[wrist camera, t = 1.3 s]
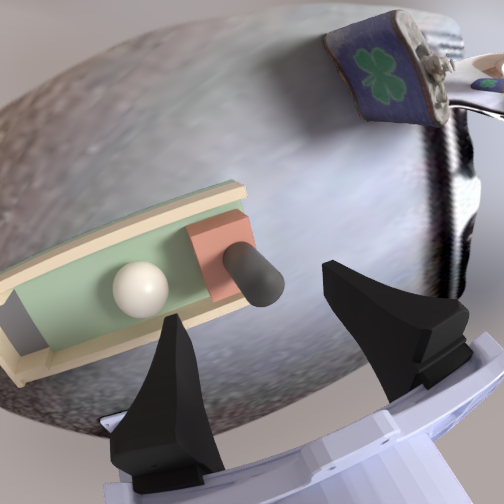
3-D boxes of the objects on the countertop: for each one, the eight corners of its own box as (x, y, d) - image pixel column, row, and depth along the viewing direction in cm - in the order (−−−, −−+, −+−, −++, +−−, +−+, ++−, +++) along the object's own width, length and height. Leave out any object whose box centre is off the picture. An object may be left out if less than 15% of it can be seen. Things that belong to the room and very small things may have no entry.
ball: (173, 290, 23) (180, 317, 20) (127, 307, 22) (126, 337, 19) (155, 244, 21) (158, 266, 18) (105, 263, 21) (100, 288, 17)
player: (252, 268, 25) (292, 314, 18) (205, 286, 24) (232, 340, 18) (237, 208, 22) (277, 238, 16) (185, 226, 21) (205, 265, 15)
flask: (316, 37, 20) (410, 5, 11) (339, 28, 21) (431, 0, 11) (363, 126, 25) (460, 136, 16) (382, 113, 25) (476, 120, 16)
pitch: (257, 279, 27) (273, 298, 24) (26, 363, 21) (18, 388, 18) (232, 179, 23) (247, 186, 20) (-24, 284, 17) (-40, 303, 14)
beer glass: (433, 125, 28) (549, 146, 15) (403, 77, 24) (534, 80, 11) (452, 91, 27) (557, 102, 14) (426, 45, 24) (540, 42, 11)
